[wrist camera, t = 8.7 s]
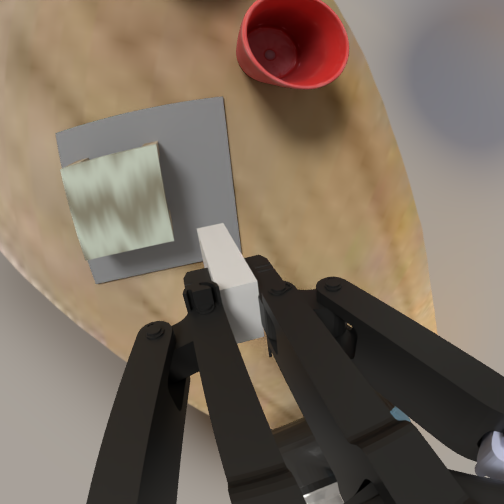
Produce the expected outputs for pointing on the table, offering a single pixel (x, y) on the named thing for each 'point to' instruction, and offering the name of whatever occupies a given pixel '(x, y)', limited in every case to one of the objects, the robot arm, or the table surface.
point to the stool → (118, 201)
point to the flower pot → (292, 43)
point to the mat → (167, 176)
